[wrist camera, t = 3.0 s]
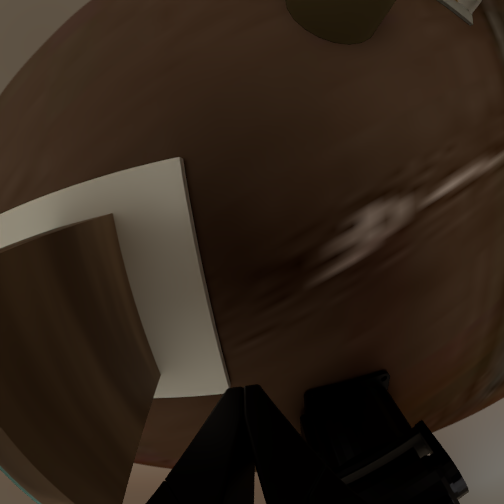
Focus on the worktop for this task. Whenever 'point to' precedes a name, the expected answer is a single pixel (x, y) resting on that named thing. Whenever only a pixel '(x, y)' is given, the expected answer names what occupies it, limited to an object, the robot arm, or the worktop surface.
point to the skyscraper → (462, 8)
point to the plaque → (71, 366)
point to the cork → (340, 18)
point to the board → (147, 265)
